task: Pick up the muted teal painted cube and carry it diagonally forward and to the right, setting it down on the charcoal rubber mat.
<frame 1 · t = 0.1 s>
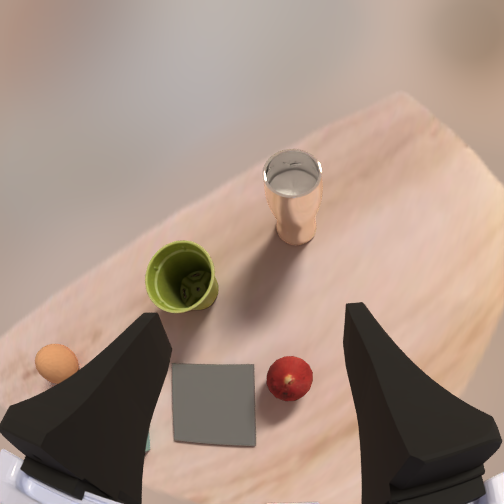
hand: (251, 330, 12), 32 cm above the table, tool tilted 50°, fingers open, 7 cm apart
plant pot: (199, 291, 47), on the table
onion: (290, 376, 40), on the table
beer glass: (296, 227, 47), on the table
egg: (73, 365, 46), on the table
mat: (213, 404, 40), on the table
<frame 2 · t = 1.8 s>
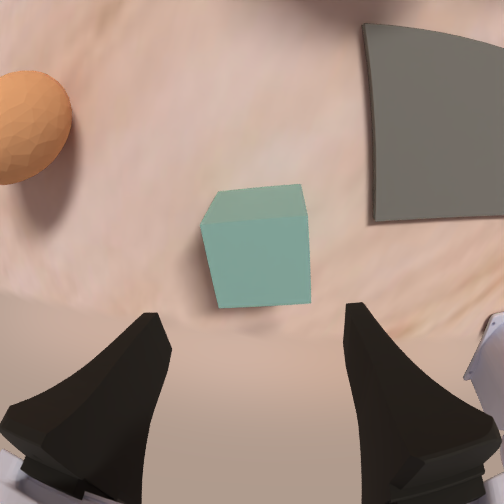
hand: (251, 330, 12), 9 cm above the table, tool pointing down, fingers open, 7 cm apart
cube: (263, 224, 20), on the table
egg: (58, 114, 17), on the table
mat: (457, 126, 15), on the table
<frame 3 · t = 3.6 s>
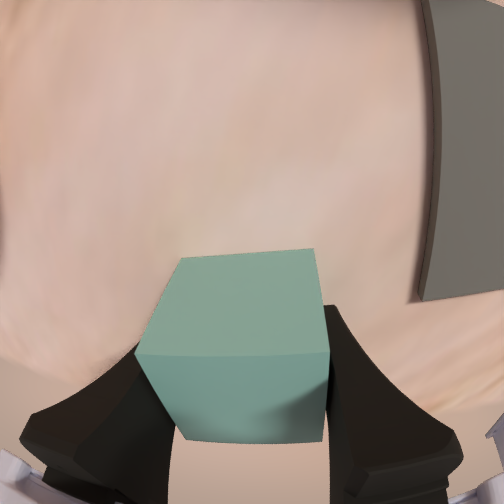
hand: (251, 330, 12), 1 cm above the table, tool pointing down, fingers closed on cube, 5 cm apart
cube: (253, 306, 13), on the table, touching gripper
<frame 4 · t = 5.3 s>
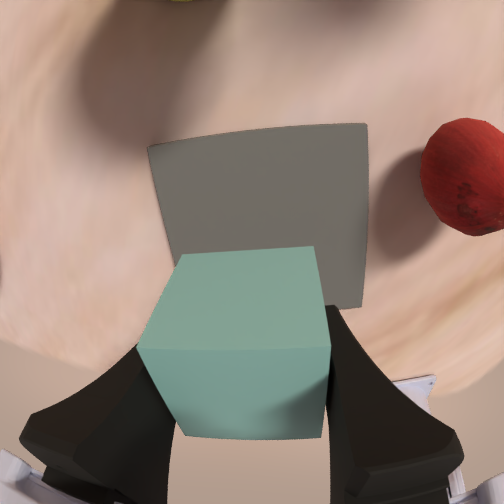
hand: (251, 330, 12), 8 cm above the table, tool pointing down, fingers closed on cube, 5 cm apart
onion: (440, 157, 16), on the table
cube: (253, 303, 13), point 7 cm above the table, touching gripper
mat: (266, 229, 19), on the table
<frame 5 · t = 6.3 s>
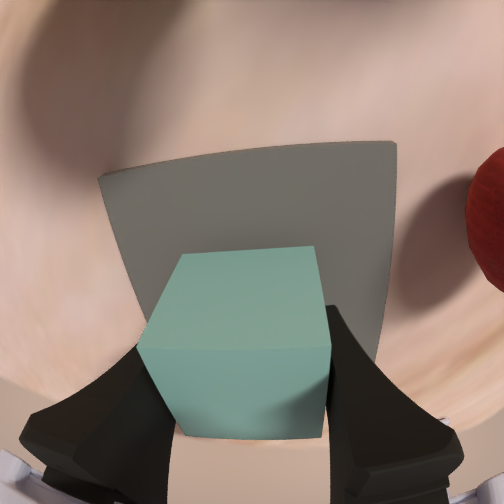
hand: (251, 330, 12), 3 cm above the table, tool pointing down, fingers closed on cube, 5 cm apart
onion: (482, 186, 11), on the table
cube: (253, 303, 13), point 2 cm above the table, touching gripper
mat: (257, 281, 14), on the table
when the fingers open (3 cm above the table, at t = 7.3 s): cube stays where it is, resting on mat.
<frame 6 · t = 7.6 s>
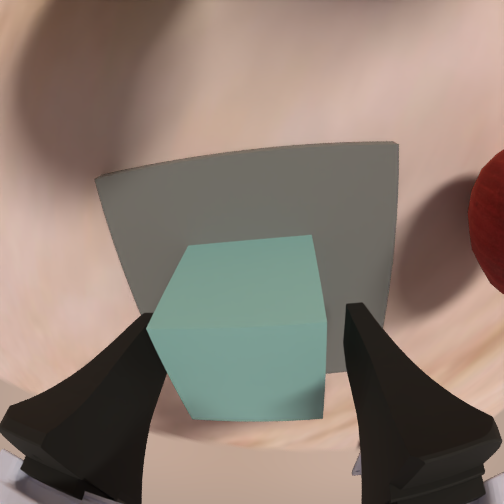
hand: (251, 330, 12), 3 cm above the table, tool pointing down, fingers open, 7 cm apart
onion: (484, 187, 11), on the table
cube: (256, 291, 14), point 1 cm above the table, touching mat
mat: (256, 284, 14), on the table
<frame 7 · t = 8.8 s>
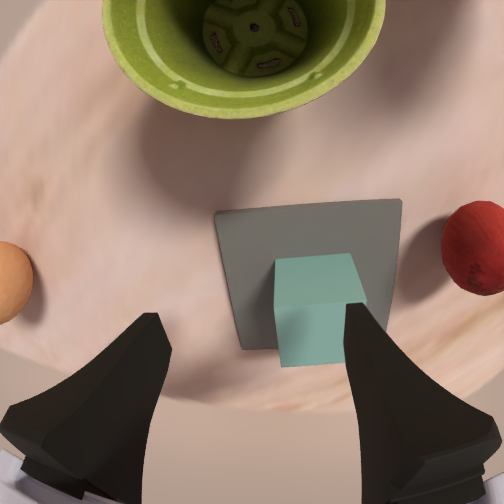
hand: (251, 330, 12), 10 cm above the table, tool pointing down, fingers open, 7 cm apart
plant pot: (255, 31, 14), on the table
onion: (456, 221, 19), on the table
cube: (314, 286, 22), point 1 cm above the table, touching mat
egg: (23, 257, 24), on the table
mat: (313, 282, 22), on the table
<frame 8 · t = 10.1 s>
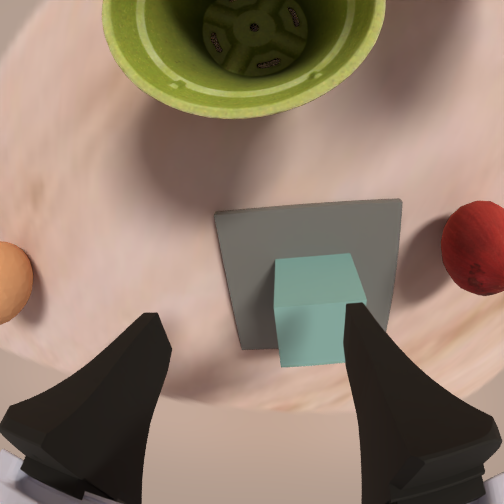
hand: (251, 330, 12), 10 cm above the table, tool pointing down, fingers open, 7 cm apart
plant pot: (255, 31, 14), on the table
onion: (456, 221, 19), on the table
cube: (314, 287, 22), point 1 cm above the table, touching mat
egg: (23, 257, 24), on the table
mat: (313, 282, 22), on the table
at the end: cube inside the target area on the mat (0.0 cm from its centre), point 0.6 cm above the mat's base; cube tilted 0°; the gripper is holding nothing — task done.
